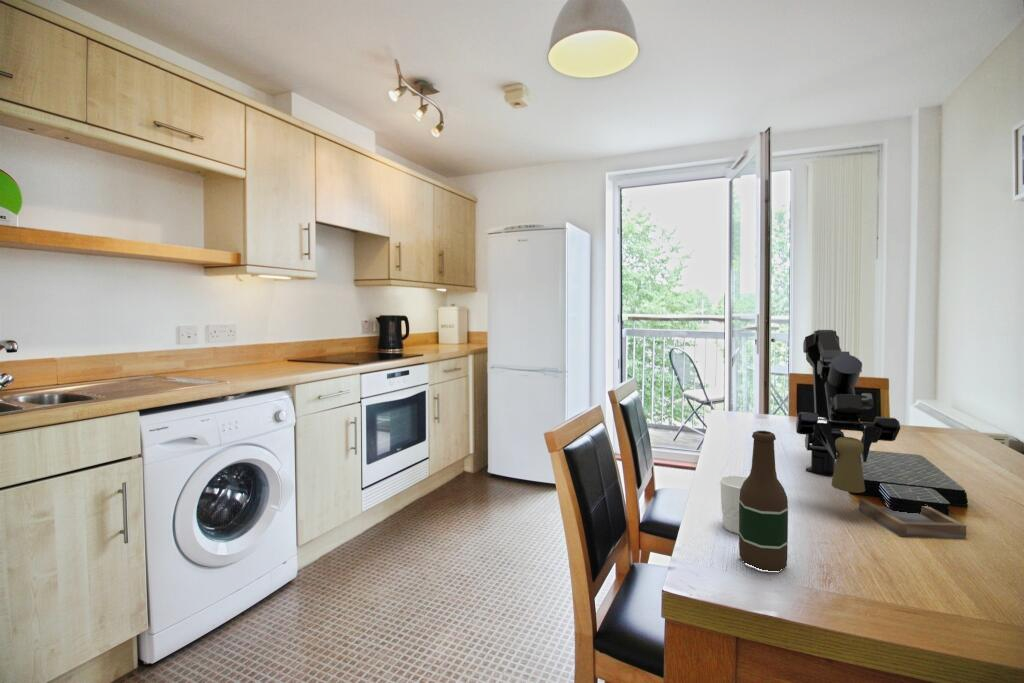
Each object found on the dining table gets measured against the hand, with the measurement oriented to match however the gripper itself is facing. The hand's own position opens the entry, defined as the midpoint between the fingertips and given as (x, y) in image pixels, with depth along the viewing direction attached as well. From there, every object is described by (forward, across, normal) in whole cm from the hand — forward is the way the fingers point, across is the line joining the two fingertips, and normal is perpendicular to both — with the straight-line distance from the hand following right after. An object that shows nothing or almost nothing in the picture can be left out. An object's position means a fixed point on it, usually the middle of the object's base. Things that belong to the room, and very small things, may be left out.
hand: (850, 459), depth 102 cm
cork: (+4, 0, +6) cm, 7 cm away
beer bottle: (+29, -18, -10) cm, 35 cm away
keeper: (+7, +11, +12) cm, 17 cm away
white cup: (+19, -21, 0) cm, 29 cm away
